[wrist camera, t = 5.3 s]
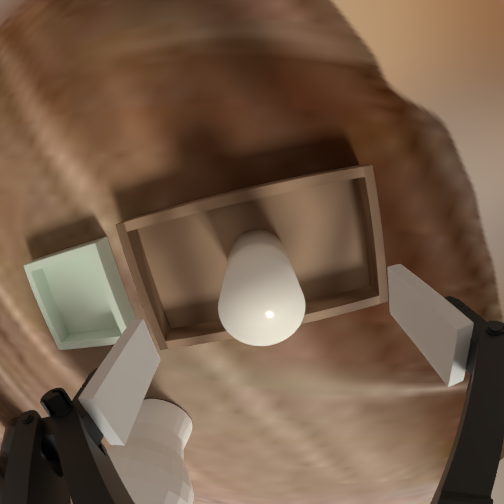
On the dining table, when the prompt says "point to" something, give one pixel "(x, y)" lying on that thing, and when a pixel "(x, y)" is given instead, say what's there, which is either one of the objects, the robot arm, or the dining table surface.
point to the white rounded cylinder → (260, 291)
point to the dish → (81, 295)
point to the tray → (264, 218)
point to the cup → (155, 455)
